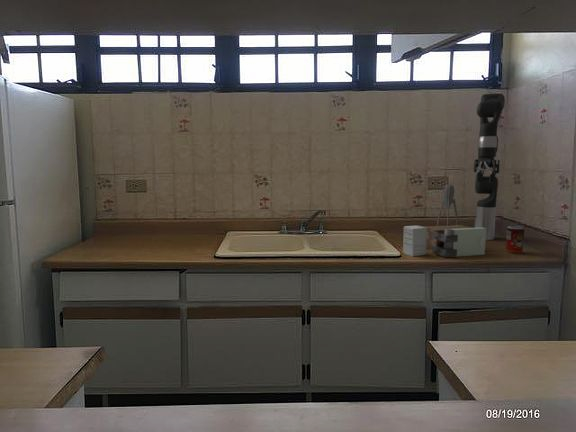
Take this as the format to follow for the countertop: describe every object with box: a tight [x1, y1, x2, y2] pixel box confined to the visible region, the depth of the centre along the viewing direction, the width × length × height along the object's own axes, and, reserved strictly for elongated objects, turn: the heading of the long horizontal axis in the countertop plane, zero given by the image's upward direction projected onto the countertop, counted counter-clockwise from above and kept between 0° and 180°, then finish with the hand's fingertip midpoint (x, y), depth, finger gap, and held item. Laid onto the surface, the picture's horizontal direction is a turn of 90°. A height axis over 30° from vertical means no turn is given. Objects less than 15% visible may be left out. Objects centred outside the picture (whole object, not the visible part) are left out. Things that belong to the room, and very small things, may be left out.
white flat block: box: [444, 227, 487, 257], centre depth 199 cm, size 4×20×12 cm, turn 104°
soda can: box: [505, 224, 525, 255], centre depth 204 cm, size 7×7×12 cm
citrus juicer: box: [436, 183, 459, 226], centre depth 225 cm, size 11×10×30 cm
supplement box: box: [402, 225, 427, 257], centre depth 201 cm, size 7×7×13 cm
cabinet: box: [424, 224, 472, 258], centre depth 206 cm, size 21×22×10 cm
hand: (485, 182), depth 204 cm, fingers open, 8 cm apart
